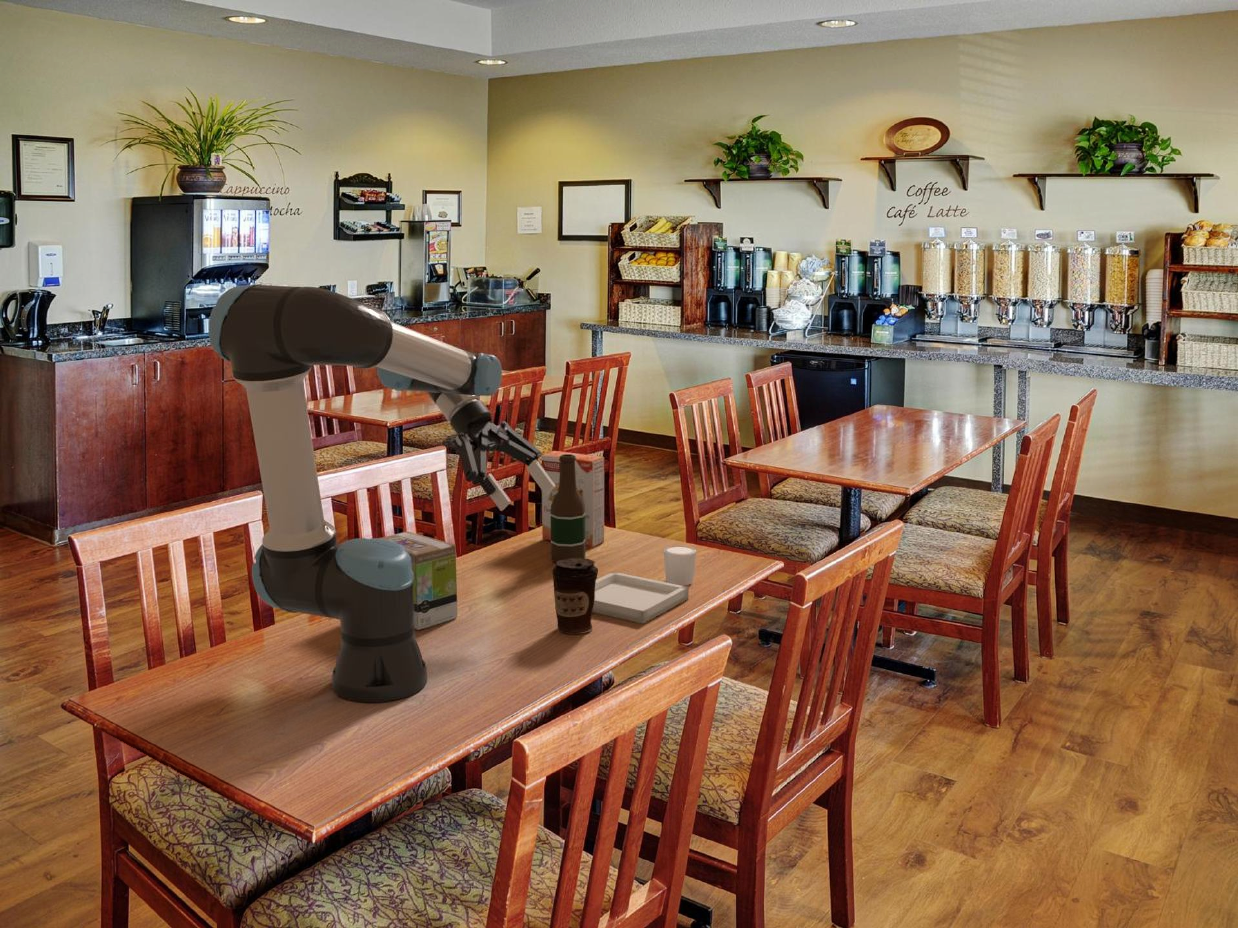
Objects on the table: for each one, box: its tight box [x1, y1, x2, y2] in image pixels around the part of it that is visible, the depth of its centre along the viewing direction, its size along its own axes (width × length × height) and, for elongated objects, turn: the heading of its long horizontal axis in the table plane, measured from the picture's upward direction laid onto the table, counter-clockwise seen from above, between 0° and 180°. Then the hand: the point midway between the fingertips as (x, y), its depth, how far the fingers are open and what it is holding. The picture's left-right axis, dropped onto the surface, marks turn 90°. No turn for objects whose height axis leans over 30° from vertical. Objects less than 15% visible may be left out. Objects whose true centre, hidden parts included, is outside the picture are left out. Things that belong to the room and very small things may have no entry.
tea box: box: [377, 531, 458, 631], centre depth 213 cm, size 15×10×15 cm, turn 48°
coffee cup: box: [551, 557, 599, 635], centre depth 206 cm, size 9×8×13 cm
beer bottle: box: [550, 454, 587, 564], centre depth 246 cm, size 8×8×24 cm
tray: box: [592, 571, 690, 625], centre depth 222 cm, size 17×18×2 cm
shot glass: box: [663, 545, 697, 586], centre depth 234 cm, size 7×7×7 cm
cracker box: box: [541, 450, 605, 549], centre depth 262 cm, size 14×6×21 cm, turn 61°
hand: (529, 498), depth 208 cm, fingers open, 13 cm apart
